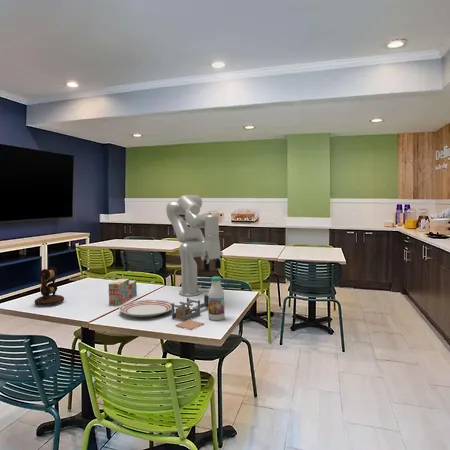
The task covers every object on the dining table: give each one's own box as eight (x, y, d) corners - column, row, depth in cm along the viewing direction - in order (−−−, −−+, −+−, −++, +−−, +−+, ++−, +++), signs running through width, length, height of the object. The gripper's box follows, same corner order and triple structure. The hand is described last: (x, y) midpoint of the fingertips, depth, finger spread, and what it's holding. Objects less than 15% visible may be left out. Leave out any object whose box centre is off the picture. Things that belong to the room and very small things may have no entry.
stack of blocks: (127, 295, 216) (126, 275, 215) (137, 295, 214) (136, 275, 213) (108, 305, 195) (108, 283, 194) (119, 306, 193) (118, 283, 193)
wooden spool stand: (44, 299, 206) (42, 265, 205) (69, 300, 206) (67, 265, 204) (28, 307, 192) (27, 270, 190) (55, 307, 191) (54, 270, 189)
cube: (182, 316, 176) (182, 306, 176) (190, 317, 173) (190, 307, 173) (175, 318, 172) (175, 308, 172) (183, 320, 169) (183, 310, 169)
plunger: (205, 306, 191) (205, 295, 191) (213, 307, 188) (213, 296, 188) (183, 314, 177) (183, 302, 176) (191, 316, 174) (191, 304, 174)
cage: (188, 312, 182) (188, 297, 181) (200, 315, 177) (200, 300, 177) (171, 318, 172) (171, 303, 171) (184, 321, 167) (183, 306, 167)
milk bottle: (208, 315, 176) (207, 275, 175) (223, 315, 177) (223, 275, 175) (208, 321, 168) (208, 279, 167) (225, 320, 169) (224, 278, 168)
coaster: (188, 320, 169) (188, 319, 169) (203, 324, 164) (203, 323, 164) (175, 326, 162) (175, 324, 162) (190, 330, 157) (190, 328, 157)
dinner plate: (140, 302, 201) (140, 296, 201) (183, 307, 191) (183, 301, 191) (107, 317, 175) (107, 310, 175) (155, 324, 165) (155, 317, 165)
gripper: (216, 236, 201) (217, 266, 202) (195, 239, 187) (196, 271, 188) (227, 236, 197) (227, 267, 197) (206, 239, 183) (207, 272, 184)
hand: (212, 269), depth 193 cm, fingers open, 9 cm apart
